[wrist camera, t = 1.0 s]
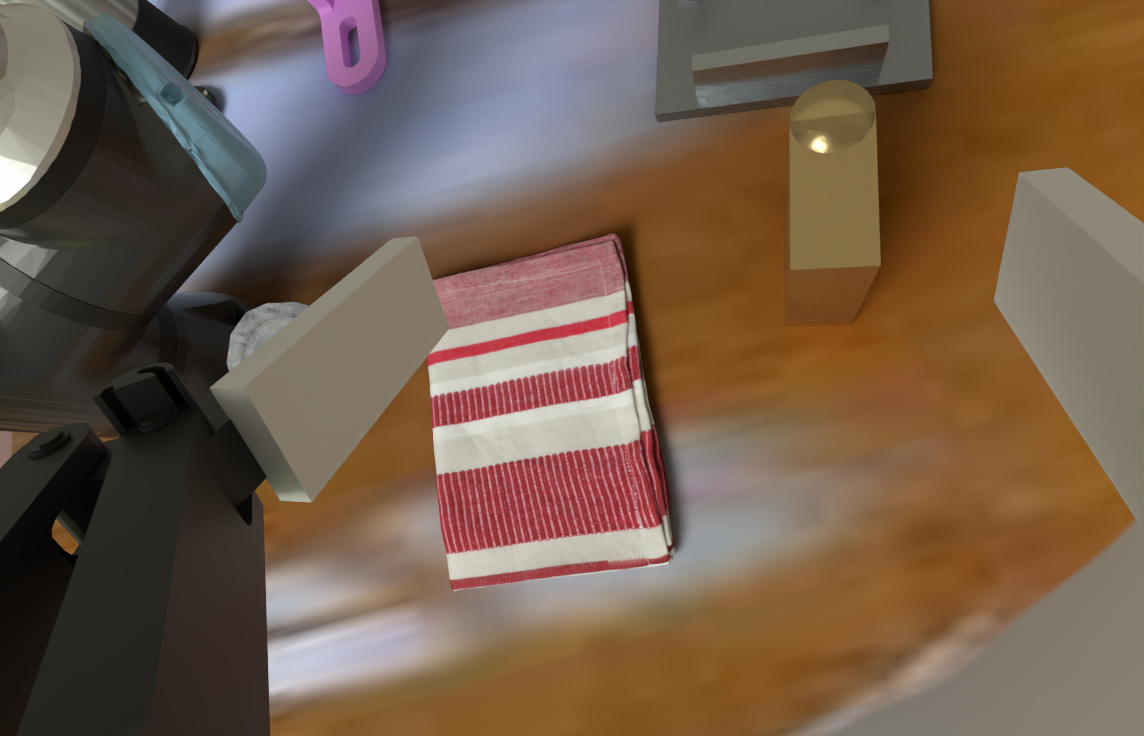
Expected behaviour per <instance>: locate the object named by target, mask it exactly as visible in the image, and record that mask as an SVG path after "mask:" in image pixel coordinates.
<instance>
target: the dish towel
mask: <svg viewBox="0 0 1144 736" xmlns="http://www.w3.org/2000/svg"><path fill="white" fill-rule="evenodd" d="M433 283H434V286H435V288H436V291H437V294H438V297H439V300H440V303H441V306H442V309H443V311H444V314H445V317H446V320H447V323H448V326H449V330H448V331H447V332H446V333H445V335H444V336H443V337H442V338H441V340H440V341H439V342H438V344H437V345H436V346H435V347H434V349H433V350H432V351H431V352H430V354H429V355H428V356H427V359H428V370H429V378H430V393H431V417H432V428H433V441H434V454H435V462H436V472H437V476H436V481H437V493H438V503H439V512H440V524H441V532H442V536H443V541H444V546H445V550H446V554H447V560H448V568H449V577H450V583H451V588H452V589H453V590H454V591H457V590H461V589H468V588H480V587H487V586H494V585H502V584H508V583H516V582H523V581H531V580H540V579H546V578H556V577H564V576H575V575H585V574H593V573H601V572H609V571H618V570H624V569H631V568H644V567H652V566H660V565H666V564H669V561H671V560H673V558H672V555H673V554H675V547H674V543H673V537H672V533H671V528H670V520H669V519H670V514H671V513H670V495H669V489H668V481H667V476H666V471H665V466H664V460H663V456H662V452H661V448H660V444H659V441H658V438H657V433H656V429H655V423H654V419H653V416H652V412H651V409H650V406H649V402H648V396H647V389H646V382H645V377H644V371H643V366H642V357H641V353H640V346H639V339H638V332H637V325H636V319H635V314H634V308H633V303H632V294H631V290H630V285H629V280H628V272H627V267H626V263H625V259H624V248H623V245H622V242H621V239H620V238H618V235H617V234H613V233H610V234H609V235H606V236H604V237H601V238H597V239H592V240H587V241H583V242H578V243H574V244H571V245H567V246H563V247H559V248H556V249H553V250H550V251H547V252H543V253H540V254H536V255H533V256H528V257H524V258H519V259H516V260H513V261H509V262H506V263H500V264H497V265H493V266H490V267H486V268H481V269H477V270H472V271H468V272H464V273H459V274H455V275H451V276H446V277H441V278H438V279H436V280H433Z"/></svg>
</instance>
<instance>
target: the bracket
mask: <svg viewBox="0 0 1144 736" xmlns="http://www.w3.org/2000/svg"><path fill="white" fill-rule="evenodd" d="M308 1H309V2H310V3H311V4H312V5H313V7H314V8H315V9H316V10H317V11H318V13H319V15H320V18H321V26H322V35H323V44H324V53H325V62H326V71H327V75H328V77H329V79H330V80H331V81H332V82H333V83H334V84H335V85H336V86H337V87H338V88H339V89H340V90H341V91H342V92H344V93H346V94H350V95H357V94H361V93H364V92H366V91H367V90H369V89H371V88H372V87H373V86H374V85H375V84H376V83H377V82H378V81H379V79H380V78H381V76H382V74H383V72H384V70H385V67H386V61H387V57H386V50H385V43H384V36H383V29H382V22H381V15H380V8H379V1H378V0H308ZM356 26H357V31H358V39H359V46H360V54H361V57H360V60H359V62H358V63H357V64H356V65H355V66H353V67H352V65H351V57H350V49H349V41H348V35H349V33H350V31H351V30H352V29H353V28H354V27H356Z"/></svg>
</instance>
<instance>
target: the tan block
mask: <svg viewBox="0 0 1144 736" xmlns="http://www.w3.org/2000/svg"><path fill="white" fill-rule="evenodd" d="M880 266H881V256H880V225H879V194H878V163H877V132H876V108H875V103H874V101H873V98H872V97H871V95H870V94H869V93H868V92H867V90H865V89H864V88H863V87H862V86H860V85H858V84H856V83H853V82H850V81H845V80H831V81H825V82H822V83H819V84H817V85H815V86H813V87H811V88H809V89H808V90H806V91H805V92H804V93H803V94H802V95H801V96H800V97H799V98H798V99H797V101H796V102H795V104H794V106H793V108H792V110H791V114H790V122H789V141H788V161H787V180H786V199H785V326H813V325H852V323H853V321H854V319H855V317H856V315H857V313H858V311H859V309H860V307H861V305H862V303H863V301H864V299H865V297H866V294H867V292H868V290H869V288H870V286H871V284H872V282H873V280H874V278H875V276H876V274H877V272H878V270H879V268H880Z"/></svg>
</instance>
